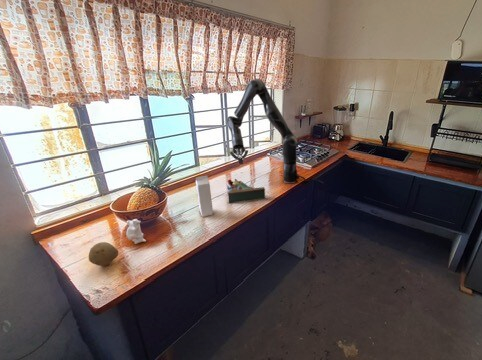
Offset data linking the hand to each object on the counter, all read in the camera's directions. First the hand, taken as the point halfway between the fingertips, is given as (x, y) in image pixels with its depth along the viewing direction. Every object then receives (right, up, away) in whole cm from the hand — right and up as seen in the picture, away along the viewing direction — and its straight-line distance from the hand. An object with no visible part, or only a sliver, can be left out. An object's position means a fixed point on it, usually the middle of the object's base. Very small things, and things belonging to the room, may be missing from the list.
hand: (241, 163), depth 164 cm
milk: (-14, -29, -28) cm, 43 cm away
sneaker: (+2, -20, -6) cm, 21 cm away
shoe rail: (+6, -23, -13) cm, 27 cm away
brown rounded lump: (-42, -45, -65) cm, 89 cm away
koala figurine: (-37, -39, -51) cm, 74 cm away
